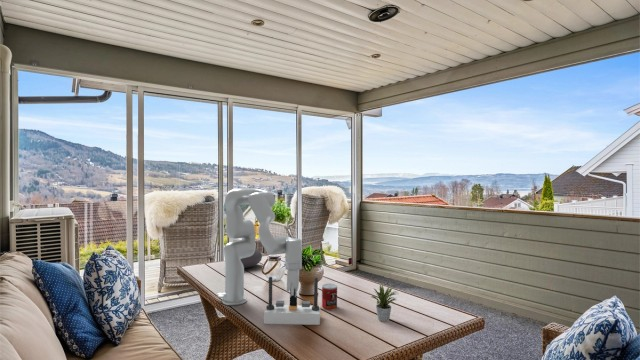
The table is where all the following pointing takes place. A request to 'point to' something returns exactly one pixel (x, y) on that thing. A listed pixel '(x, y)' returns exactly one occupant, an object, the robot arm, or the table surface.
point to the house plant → (384, 303)
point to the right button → (305, 303)
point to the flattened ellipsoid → (252, 259)
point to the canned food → (329, 296)
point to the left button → (279, 303)
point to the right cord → (315, 295)
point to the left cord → (270, 296)
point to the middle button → (292, 307)
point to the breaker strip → (292, 315)
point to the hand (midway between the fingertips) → (293, 305)
